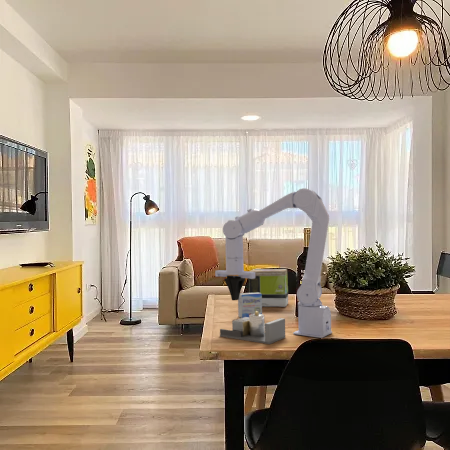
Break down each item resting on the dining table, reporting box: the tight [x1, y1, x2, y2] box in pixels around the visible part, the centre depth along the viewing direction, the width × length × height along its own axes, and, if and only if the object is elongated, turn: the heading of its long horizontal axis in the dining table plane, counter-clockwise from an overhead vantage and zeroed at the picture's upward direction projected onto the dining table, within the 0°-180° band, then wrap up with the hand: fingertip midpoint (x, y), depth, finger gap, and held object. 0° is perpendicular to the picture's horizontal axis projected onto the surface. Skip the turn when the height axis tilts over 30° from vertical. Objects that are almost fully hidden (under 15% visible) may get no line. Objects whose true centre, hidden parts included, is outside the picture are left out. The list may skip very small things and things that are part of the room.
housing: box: [249, 312, 265, 337], centre depth 138 cm, size 4×4×7 cm
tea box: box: [248, 268, 289, 308], centre depth 193 cm, size 15×10×15 cm
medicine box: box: [237, 292, 263, 319], centre depth 169 cm, size 8×4×9 cm, turn 105°
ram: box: [231, 317, 250, 336], centre depth 140 cm, size 4×7×4 cm, turn 143°
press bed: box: [219, 317, 286, 345], centre depth 139 cm, size 18×9×6 cm, turn 53°
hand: (235, 299), depth 150 cm, fingers closed
